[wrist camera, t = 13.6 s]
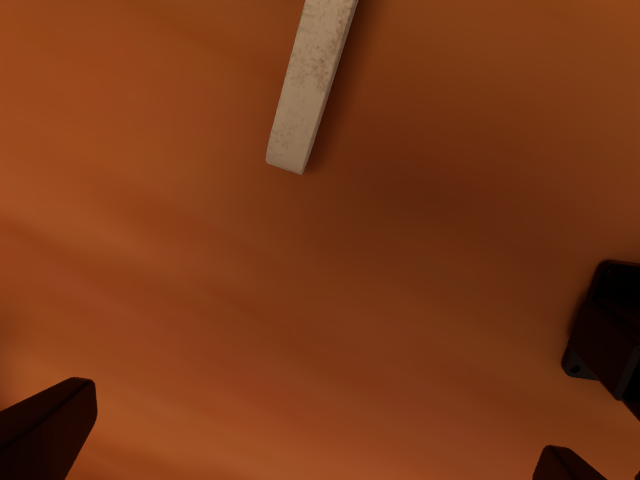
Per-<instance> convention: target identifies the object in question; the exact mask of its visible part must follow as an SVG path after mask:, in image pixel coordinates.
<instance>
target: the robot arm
mask: <svg viewBox="0 0 640 480" xmlns="http://www.w3.org/2000/svg"><path fill="white" fill-rule="evenodd" d="M612 268H614V271H613V272H612V273H611V274H608V275H607V272H608V271H609V270H610V269H612ZM568 344H569V345H568V348H567V350H566V353H565V356H564V358H563V361H562V365H561V367H562V369H563V370H564V372H565V373H566V374H567V375H568V376H570V377H575V378H582V379H590V380H597V381H600V382H601V383H602V385H603V386H604V387H605V388H606V389H607V390H608V392H609V393H610V394H611V395H612V396H613V397H614V399H616V400H618V401H622V402H623V403H624V404H625V405H626V407H627V408H628V409H629V410H630V411H631V412H632V413H633V415H634V416H635V417H636V418H637V419H638V420H639V421H640V264H636V263H629V262H621V261H614V260H607V261H605V262H603V263H602V264H600V265H599V267H598V269H597V271H596V274H595V277H594V279H593V282H592V285H591V287H590V290H589V292H588V295H587V298H586V300H585V301H584V302H583V304H582V307H581V310H580V312H579V315H578V318H577V320H576V323H575V325H574V328H573V331H572V333H571V336H570V339H569V341H568ZM573 365H576V366H575V367H574V368H571V367H572V366H573ZM96 418H97V400H96V388H95V383H94V381H93V380H91V379H86V378H79V377H71V378H69V379H66V380H64V381H62V382H60V383H58V384H56V385H54V386H52V387H50V388H48V389H46V390H44V391H42V392H40V393H37V394H35V395H33V396H31V397H29V398H27V399H25V400H23V401H21V402H19V403H17V404H15V405H13V406H11V407H9V408H6V409H4V410H2V411H0V480H65V478H66V476H67V475H68V473H69V471H70V469H71V467H72V465H73V463H74V461H75V460H76V458H77V456H78V454H79V452H80V450H81V448H82V446H83V445H84V443H85V441H86V439H87V437H88V435H89V433H90V431H91V430H92V428H93V426H94V424H95V421H96ZM532 480H607V479H606V478H605V477H604V476H602V475H601V474H600V473H599V472H598V471H596V470H595V469H594V468H593V467H592V466H590V465H589V464H588V463H587V462H586V461H584V460H583V459H582V458H581V457H580V456H578V455H577V454H576V453H575V452H573V451H572V450H571V449H569V448H566V447H560V446H553V445H547V446H546V447H544V449H543V451H542V453H541V456H540V458H539V461H538V463H537V466H536V468H535V471H534V473H533V478H532ZM635 480H640V471H639V472H638V474H637V475H636V476H635Z"/></svg>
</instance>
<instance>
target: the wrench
mask: <svg viewBox="0 0 640 480" xmlns="http://www.w3.org/2000/svg"><path fill="white" fill-rule="evenodd" d="M357 3H358V0H305V4H304V8H303V11H302V15H301V19H300V23H299V27H298V31H297V34H296V38H295V42H294V46H293V50H292V54H291V57H290V61H289V65H288V69H287V73H286V77H285V80H284V84H283V88H282V92H281V96H280V100H279V103H278V107H277V111H276V115H275V119H274V123H273V126H272V130H271V134H270V138H269V142H268V147H267V152H266V162H267V164H270V165H273V166H276V167H279V168H282V169H285V170H288V171H291V172H294V173H296V174H299V175H302V174H303V172H304V170H305V167H306V165H307V162H308V159H309V156H310V153H311V150H312V147H313V144H314V140H315V137H316V134H317V131H318V128H319V125H320V122H321V118H322V115H323V112H324V109H325V106H326V102H327V99H328V96H329V93H330V90H331V86H332V83H333V80H334V77H335V74H336V70H337V67H338V64H339V61H340V58H341V54H342V51H343V48H344V45H345V41H346V38H347V35H348V32H349V29H350V25H351V22H352V19H353V16H354V13H355V9H356V6H357Z"/></svg>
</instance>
